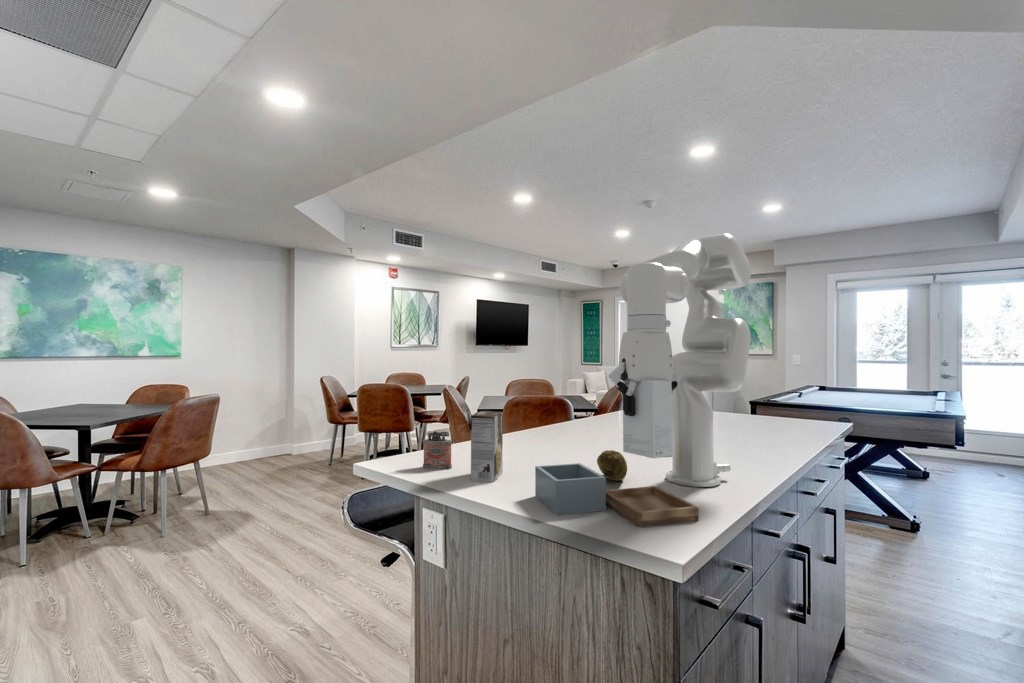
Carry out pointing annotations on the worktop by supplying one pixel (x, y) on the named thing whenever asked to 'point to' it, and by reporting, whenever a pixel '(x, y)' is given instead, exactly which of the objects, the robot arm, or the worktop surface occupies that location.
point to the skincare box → (650, 420)
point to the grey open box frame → (570, 488)
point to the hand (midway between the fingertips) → (646, 414)
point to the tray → (650, 506)
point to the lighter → (437, 451)
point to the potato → (612, 465)
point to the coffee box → (486, 446)
